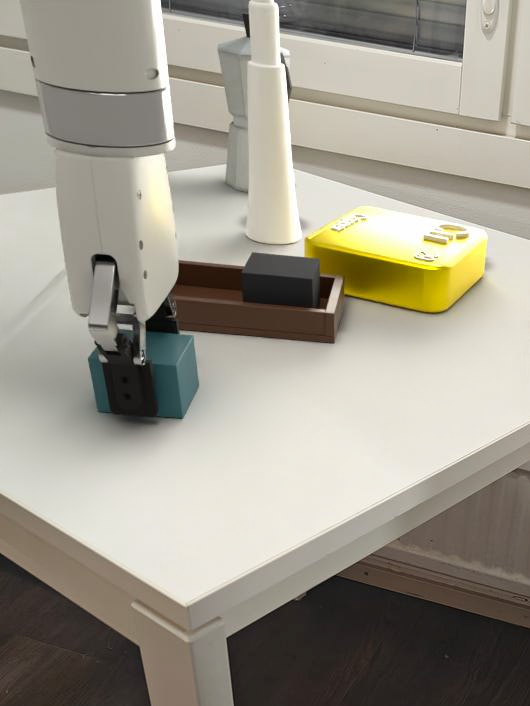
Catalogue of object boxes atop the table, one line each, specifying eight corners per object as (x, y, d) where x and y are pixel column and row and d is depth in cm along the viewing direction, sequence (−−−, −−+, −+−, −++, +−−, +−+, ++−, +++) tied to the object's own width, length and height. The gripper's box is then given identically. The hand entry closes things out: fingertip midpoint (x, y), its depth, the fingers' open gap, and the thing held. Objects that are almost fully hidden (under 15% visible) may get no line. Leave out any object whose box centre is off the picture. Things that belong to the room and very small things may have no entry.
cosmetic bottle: (244, 243, 95) (227, -11, 80) (246, 225, 99) (231, -18, 85) (302, 246, 96) (295, -4, 81) (301, 229, 100) (295, -11, 86)
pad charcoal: (244, 319, 78) (240, 272, 75) (254, 296, 82) (251, 251, 79) (313, 325, 78) (312, 279, 75) (320, 303, 82) (319, 258, 80)
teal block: (97, 411, 64) (87, 358, 61) (119, 379, 68) (110, 327, 65) (182, 418, 64) (176, 365, 62) (199, 385, 68) (193, 335, 66)
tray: (138, 325, 76) (133, 295, 74) (165, 287, 83) (162, 258, 81) (334, 343, 77) (334, 313, 75) (344, 303, 84) (344, 275, 83)
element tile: (360, 245, 98) (360, 198, 95) (488, 272, 95) (493, 225, 92) (297, 285, 87) (295, 233, 84) (441, 317, 84) (445, 265, 81)
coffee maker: (208, 172, 114) (193, 1, 102) (272, 170, 118) (265, 5, 106) (255, 206, 105) (245, 23, 93) (323, 202, 109) (321, 26, 98)
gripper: (89, 84, 60) (129, 340, 72) (-12, 140, 47) (57, 443, 59) (201, 97, 61) (223, 348, 72) (133, 155, 48) (173, 451, 59)
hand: (148, 388), depth 65 cm, fingers open, 6 cm apart
